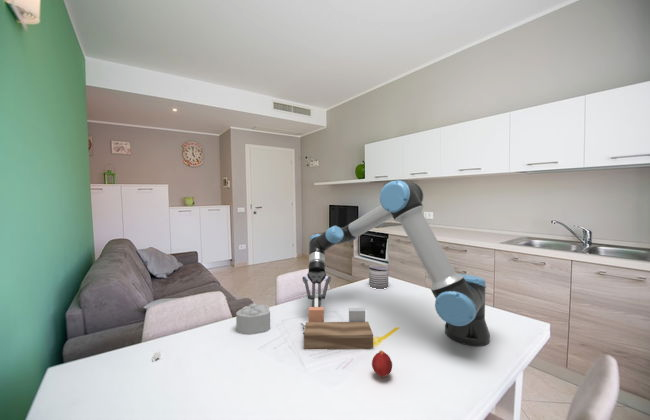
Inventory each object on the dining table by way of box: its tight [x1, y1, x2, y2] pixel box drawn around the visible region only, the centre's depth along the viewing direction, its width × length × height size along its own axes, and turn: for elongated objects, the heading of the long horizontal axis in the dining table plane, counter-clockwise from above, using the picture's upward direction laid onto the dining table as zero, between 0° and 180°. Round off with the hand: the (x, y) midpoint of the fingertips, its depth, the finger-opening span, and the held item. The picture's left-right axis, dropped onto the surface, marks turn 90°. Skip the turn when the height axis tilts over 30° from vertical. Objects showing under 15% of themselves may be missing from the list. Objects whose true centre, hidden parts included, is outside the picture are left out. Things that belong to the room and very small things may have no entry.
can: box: [368, 265, 390, 290], centre depth 158 cm, size 11×11×12 cm
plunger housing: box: [303, 321, 374, 350], centre depth 98 cm, size 10×24×5 cm, turn 91°
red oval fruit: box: [371, 349, 393, 378], centre depth 79 cm, size 6×6×8 cm
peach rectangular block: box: [308, 306, 325, 322], centre depth 102 cm, size 12×6×8 cm, turn 1°
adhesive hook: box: [151, 349, 163, 363], centre depth 88 cm, size 3×3×3 cm
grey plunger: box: [348, 307, 366, 322], centre depth 101 cm, size 12×6×8 cm, turn 1°
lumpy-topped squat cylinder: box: [235, 302, 271, 336], centre depth 108 cm, size 10×13×9 cm
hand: (316, 314), depth 109 cm, fingers closed
